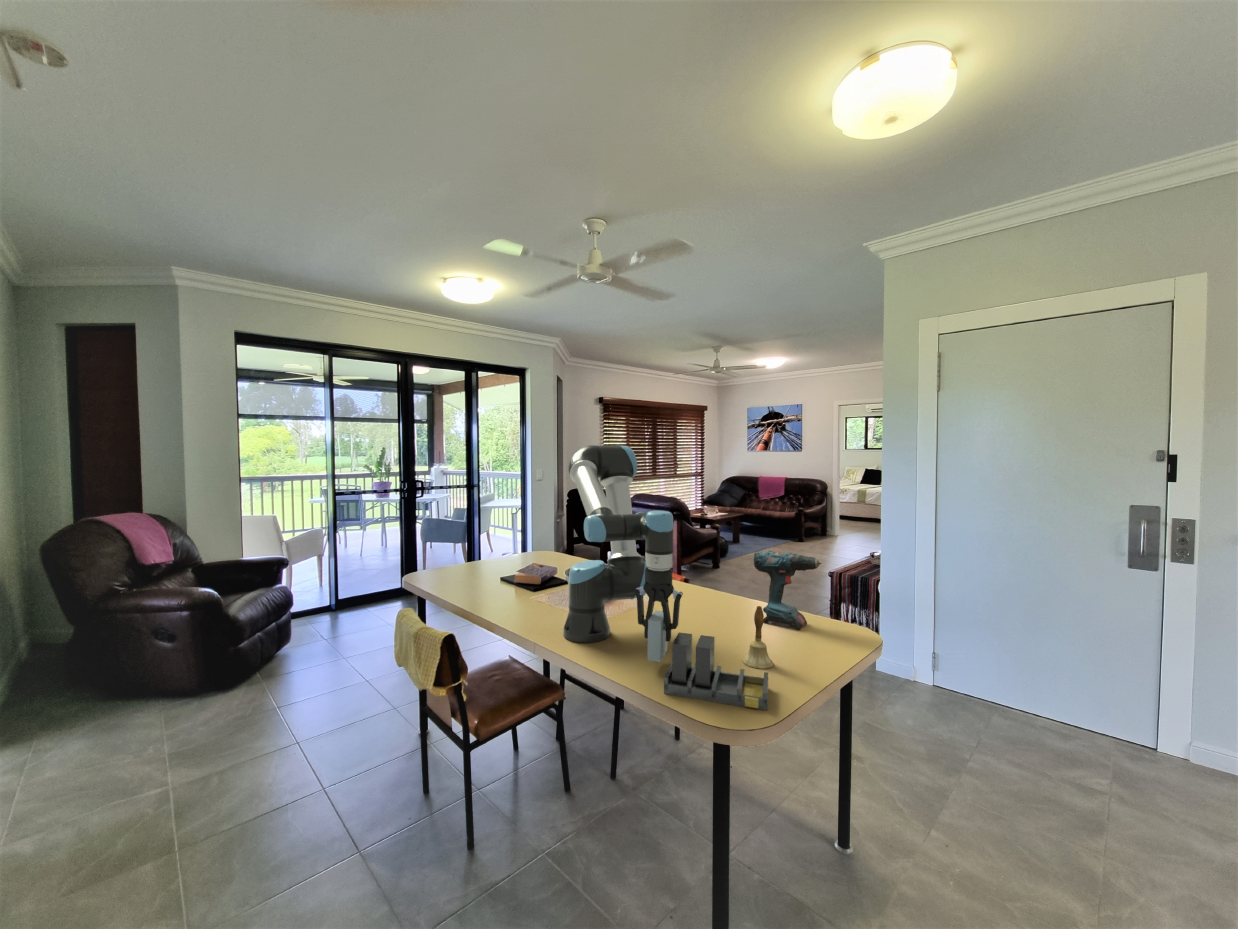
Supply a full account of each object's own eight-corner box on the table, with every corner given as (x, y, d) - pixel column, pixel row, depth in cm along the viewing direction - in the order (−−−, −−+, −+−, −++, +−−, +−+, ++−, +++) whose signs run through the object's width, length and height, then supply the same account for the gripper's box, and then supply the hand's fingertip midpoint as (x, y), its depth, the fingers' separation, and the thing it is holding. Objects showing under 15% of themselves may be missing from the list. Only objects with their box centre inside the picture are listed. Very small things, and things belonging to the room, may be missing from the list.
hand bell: (750, 654, 142) (750, 600, 141) (777, 662, 136) (778, 606, 136) (737, 663, 135) (738, 607, 135) (766, 672, 130) (766, 613, 130)
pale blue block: (647, 660, 130) (648, 620, 130) (654, 648, 138) (655, 610, 137) (660, 662, 129) (660, 621, 129) (666, 650, 137) (667, 612, 136)
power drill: (817, 635, 157) (818, 559, 156) (749, 620, 171) (750, 550, 170) (824, 627, 164) (825, 554, 163) (759, 613, 178) (759, 546, 177)
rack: (663, 694, 117) (663, 646, 117) (673, 674, 128) (673, 629, 128) (766, 712, 110) (767, 659, 109) (768, 688, 121) (768, 641, 120)
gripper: (626, 568, 131) (624, 652, 132) (686, 573, 126) (684, 661, 127) (633, 561, 138) (632, 641, 140) (691, 567, 133) (689, 650, 134)
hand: (657, 650), depth 133 cm, fingers closed on pale blue block, 3 cm apart
